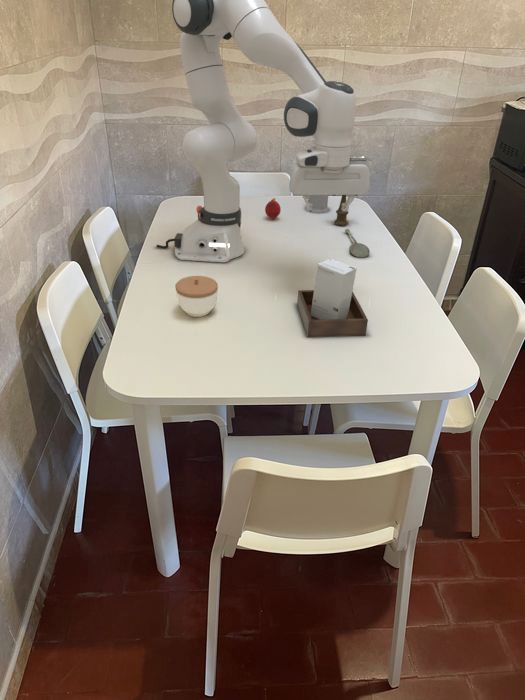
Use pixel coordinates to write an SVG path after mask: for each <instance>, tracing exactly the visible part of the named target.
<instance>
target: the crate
mask: <svg viewBox="0 0 525 700" xmlns="http://www.w3.org/2000/svg"><path fill="white" fill-rule="evenodd" d="M313 294H314V289H299V290H297V302H296V306H297V309H298V312H299V315H300V318H301V321H302V324H303V328H304V331H305V334H306V336H307V338H314V337H315V338H318V337H319V338H320V337H324V338H325V337H350V336H351V337H352V336H356V337H357V336H366V335H367V329H368V322H369V319H368V317H367V316H366V313H365V312H364V310H363V308H362V306H361V304H360V302H359V300H358V298H357V296H356V295H355V292H354V291H352V296H351V302H350V307H349V313H348V318H347V319H327V320H319V319H317V318H314V317H312V316H311V308H312V301H313Z"/></svg>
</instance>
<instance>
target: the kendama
mask: <svg viewBox="0 0 525 700" xmlns="http://www.w3.org/2000/svg"><path fill="white" fill-rule="evenodd" d="M332 196H333V197H336V196H337V195H332ZM354 197H358V195H354ZM346 200H347V195H341V199H340V202H339V206H338V209H337V210H335V213H336V219H334V221H333V223H334V224H335V225H337V226H341V227H342V226H347V225H348V224H349V221H348V219H347V218H348V217H347V216H348V214H349V210H348V211H342V210H341V207H342V203H345V202H346Z"/></svg>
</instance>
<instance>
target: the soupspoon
mask: <svg viewBox="0 0 525 700" xmlns="http://www.w3.org/2000/svg"><path fill="white" fill-rule="evenodd" d="M344 232H345V234H348V235H349V237H350V238H351V240H352V241H353V243H352V244H350V245H349V247H348V250H349V252H350V253H351V254H352V255H353V256H355V257H357V258H361V259H363V258H367V257H369V255H370V252H371V251H370V249H369V247H368V246H367V245H366V244H364V243H361V242H360V243H359V242H357V240H356V238H355V237H354V236H353V235H352V233H351V230H350V228H346V229H344Z"/></svg>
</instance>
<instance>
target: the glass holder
mask: <svg viewBox="0 0 525 700" xmlns="http://www.w3.org/2000/svg"><path fill="white" fill-rule="evenodd" d="M307 200H308V202H309V203H312V205H313V212H312V213H315V214H322V213H327V212H329V208H328V202H329V195H310V197H309V199H307Z"/></svg>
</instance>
